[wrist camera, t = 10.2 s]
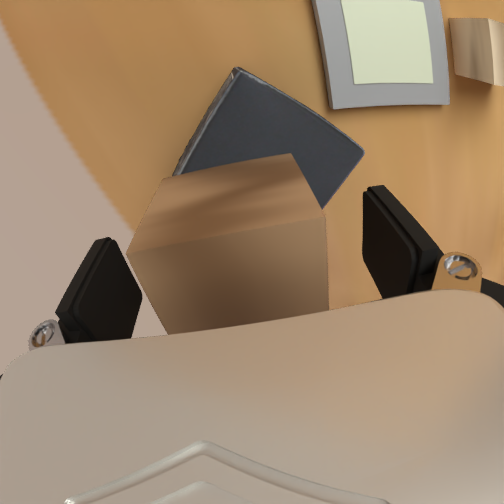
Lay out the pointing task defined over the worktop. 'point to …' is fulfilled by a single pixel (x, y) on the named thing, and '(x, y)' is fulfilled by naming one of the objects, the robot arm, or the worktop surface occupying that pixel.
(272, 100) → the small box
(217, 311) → the walnut cube
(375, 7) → the grey square plate
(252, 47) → the worktop surface
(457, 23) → the oak cube
